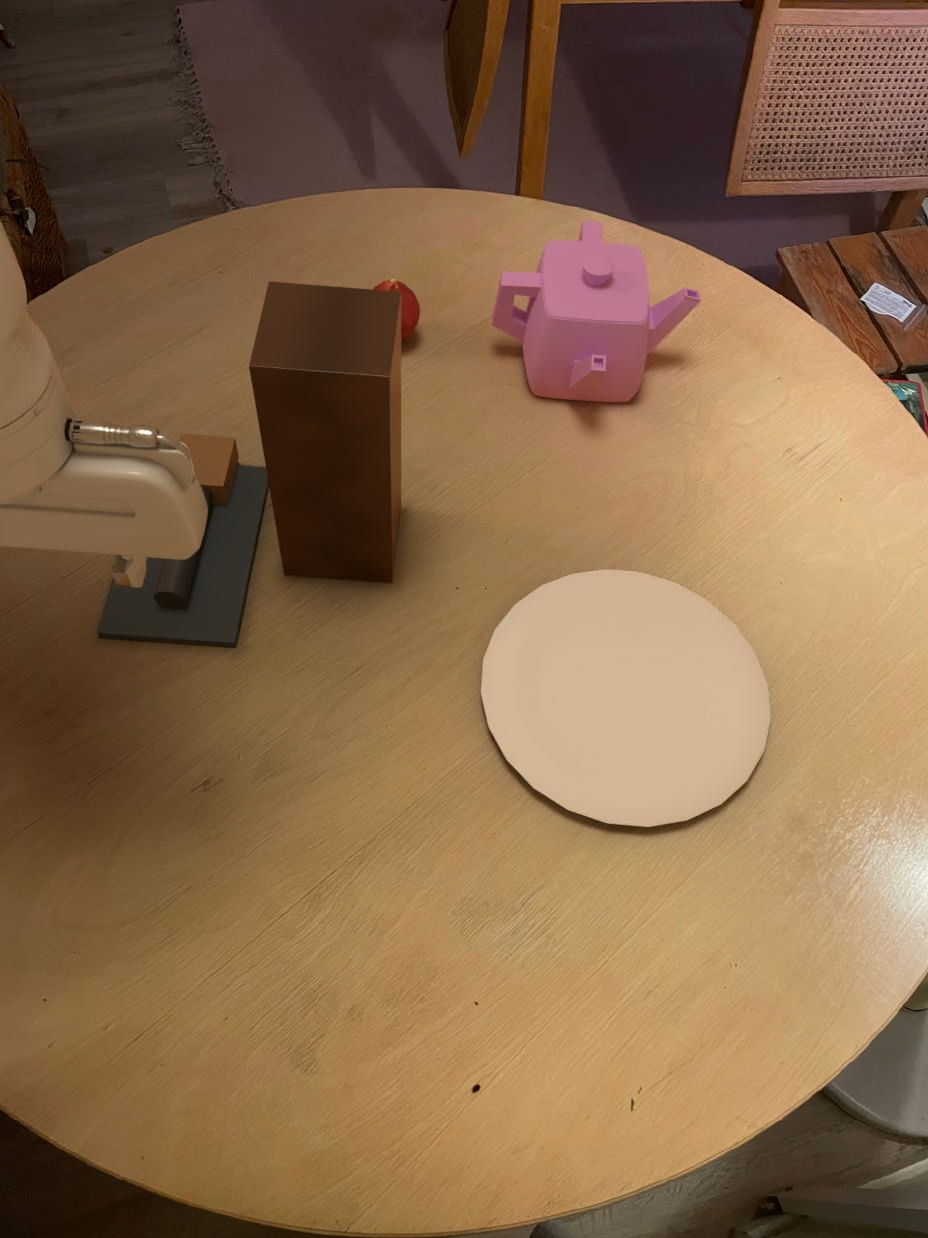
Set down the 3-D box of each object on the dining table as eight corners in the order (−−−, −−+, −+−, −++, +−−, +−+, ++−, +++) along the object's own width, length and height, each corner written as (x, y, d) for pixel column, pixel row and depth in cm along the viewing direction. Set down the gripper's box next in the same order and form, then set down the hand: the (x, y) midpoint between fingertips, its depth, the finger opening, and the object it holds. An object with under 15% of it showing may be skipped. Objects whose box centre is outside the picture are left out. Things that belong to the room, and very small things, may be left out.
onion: (354, 335, 112) (351, 274, 106) (395, 312, 115) (395, 251, 108) (388, 364, 110) (388, 305, 103) (430, 341, 112) (431, 281, 106)
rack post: (283, 575, 95) (248, 365, 73) (297, 498, 100) (268, 280, 78) (392, 583, 95) (389, 376, 73) (401, 506, 100) (401, 291, 78)
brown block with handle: (202, 611, 92) (197, 594, 89) (143, 606, 92) (136, 589, 89) (239, 457, 101) (235, 437, 99) (186, 452, 101) (180, 433, 99)
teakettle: (576, 282, 119) (593, 187, 108) (690, 363, 113) (719, 270, 102) (469, 351, 112) (476, 256, 101) (584, 440, 106) (604, 349, 95)
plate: (595, 892, 81) (599, 885, 79) (424, 656, 91) (424, 646, 90) (826, 737, 89) (833, 728, 88) (644, 537, 100) (648, 526, 98)
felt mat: (98, 637, 91) (96, 632, 90) (148, 463, 101) (147, 457, 101) (236, 647, 91) (234, 643, 90) (271, 472, 102) (270, 467, 101)
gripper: (197, 387, 54) (233, 543, 66) (-196, 356, 54) (-90, 519, 66) (172, 480, 51) (214, 627, 63) (-247, 448, 51) (-126, 602, 62)
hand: (56, 572), depth 64 cm, fingers open, 8 cm apart
